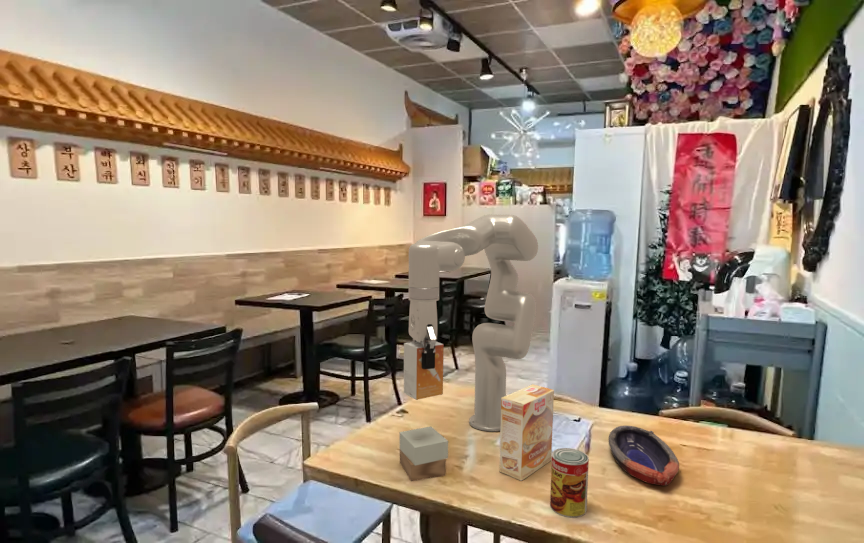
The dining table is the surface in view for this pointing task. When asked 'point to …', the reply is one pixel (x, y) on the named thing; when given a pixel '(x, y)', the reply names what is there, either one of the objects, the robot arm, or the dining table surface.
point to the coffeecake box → (526, 431)
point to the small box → (422, 372)
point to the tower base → (422, 468)
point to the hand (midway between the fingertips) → (423, 363)
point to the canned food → (569, 482)
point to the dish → (643, 455)
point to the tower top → (423, 445)
